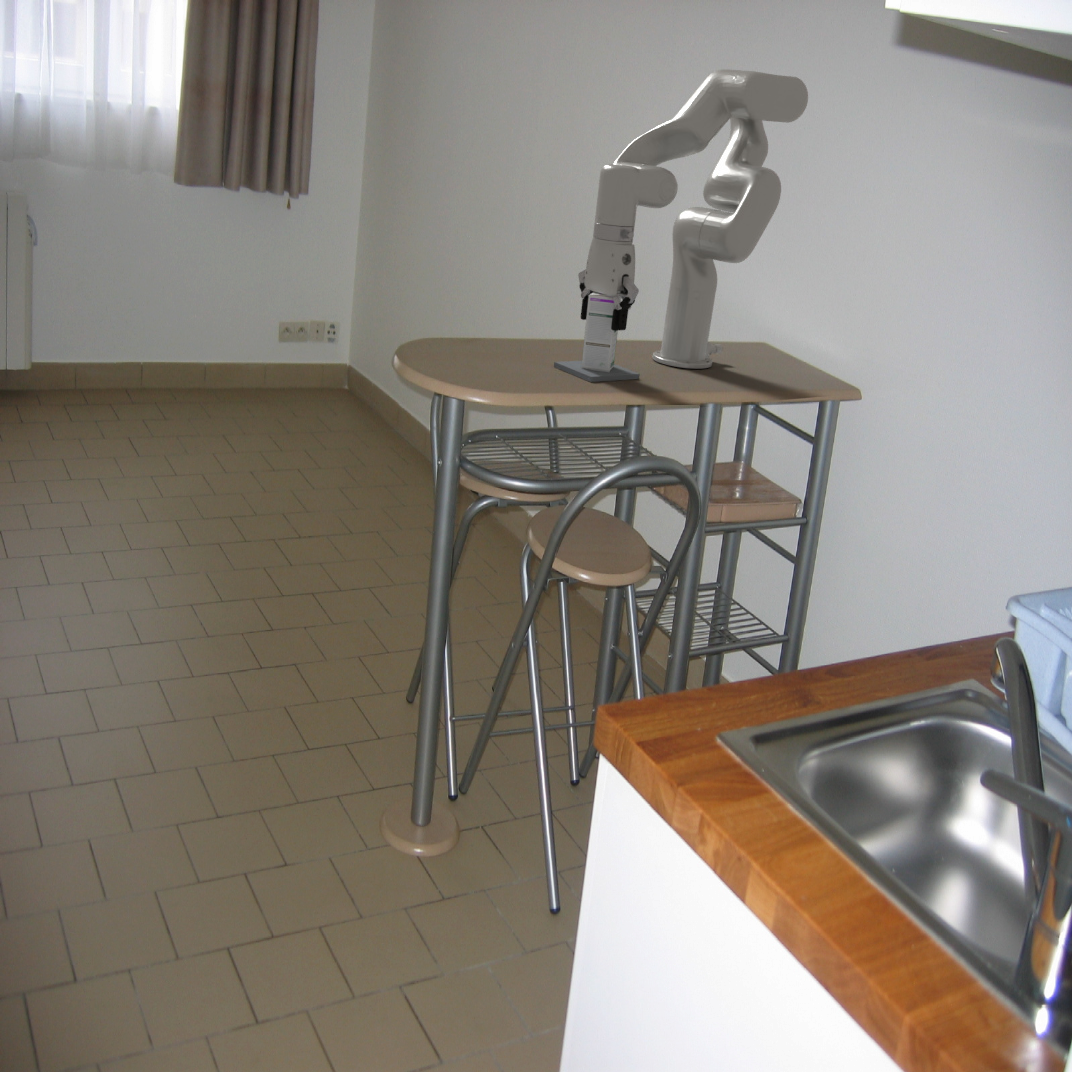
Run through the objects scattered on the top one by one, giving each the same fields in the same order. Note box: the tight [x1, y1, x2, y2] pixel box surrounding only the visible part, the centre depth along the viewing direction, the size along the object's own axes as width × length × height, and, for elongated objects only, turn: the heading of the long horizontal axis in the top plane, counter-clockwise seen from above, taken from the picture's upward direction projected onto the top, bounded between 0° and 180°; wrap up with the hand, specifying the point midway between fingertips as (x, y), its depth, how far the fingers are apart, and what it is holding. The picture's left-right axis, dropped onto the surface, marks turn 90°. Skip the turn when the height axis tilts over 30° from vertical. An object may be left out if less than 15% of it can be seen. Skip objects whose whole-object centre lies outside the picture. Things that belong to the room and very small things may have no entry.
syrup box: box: [581, 292, 622, 372], centre depth 219 cm, size 6×6×14 cm
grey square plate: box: [553, 359, 640, 383], centre depth 222 cm, size 12×12×1 cm
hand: (602, 324), depth 219 cm, fingers open, 9 cm apart
